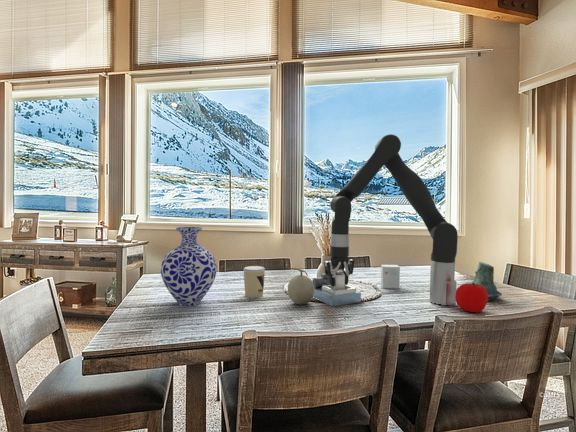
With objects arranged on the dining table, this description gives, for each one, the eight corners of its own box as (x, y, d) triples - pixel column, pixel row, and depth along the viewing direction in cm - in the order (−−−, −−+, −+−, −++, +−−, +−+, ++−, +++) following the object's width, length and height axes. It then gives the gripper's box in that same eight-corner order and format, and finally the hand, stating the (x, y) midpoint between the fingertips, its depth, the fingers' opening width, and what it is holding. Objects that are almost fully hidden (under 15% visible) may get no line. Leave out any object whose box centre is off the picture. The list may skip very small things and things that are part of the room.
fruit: (318, 302, 155) (319, 265, 154) (305, 309, 145) (306, 270, 144) (296, 298, 160) (297, 263, 159) (282, 304, 150) (282, 267, 149)
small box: (397, 286, 185) (398, 264, 184) (399, 288, 179) (400, 266, 179) (380, 285, 186) (381, 264, 185) (382, 288, 180) (382, 266, 180)
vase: (159, 312, 138) (159, 230, 137) (162, 297, 159) (162, 226, 157) (218, 308, 144) (219, 229, 142) (214, 294, 164) (214, 225, 163)
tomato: (469, 316, 138) (470, 286, 137) (447, 307, 149) (448, 279, 148) (495, 314, 141) (497, 284, 141) (472, 305, 152) (473, 278, 152)
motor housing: (360, 302, 155) (361, 279, 155) (332, 306, 149) (332, 282, 148) (335, 292, 171) (335, 271, 171) (308, 295, 165) (308, 274, 164)
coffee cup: (261, 298, 159) (261, 270, 158) (240, 297, 161) (240, 269, 160) (267, 293, 168) (267, 266, 167) (247, 291, 170) (247, 265, 169)
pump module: (347, 291, 156) (347, 272, 155) (337, 293, 153) (337, 273, 153) (340, 289, 160) (340, 270, 160) (330, 290, 158) (330, 271, 157)
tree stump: (453, 290, 181) (464, 254, 178) (499, 307, 169) (512, 269, 167) (444, 295, 166) (456, 257, 163) (493, 315, 154) (507, 274, 152)
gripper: (330, 246, 149) (329, 289, 150) (359, 245, 156) (358, 285, 157) (320, 244, 156) (319, 285, 156) (348, 243, 162) (347, 282, 163)
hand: (339, 285), depth 157 cm, fingers open, 6 cm apart
